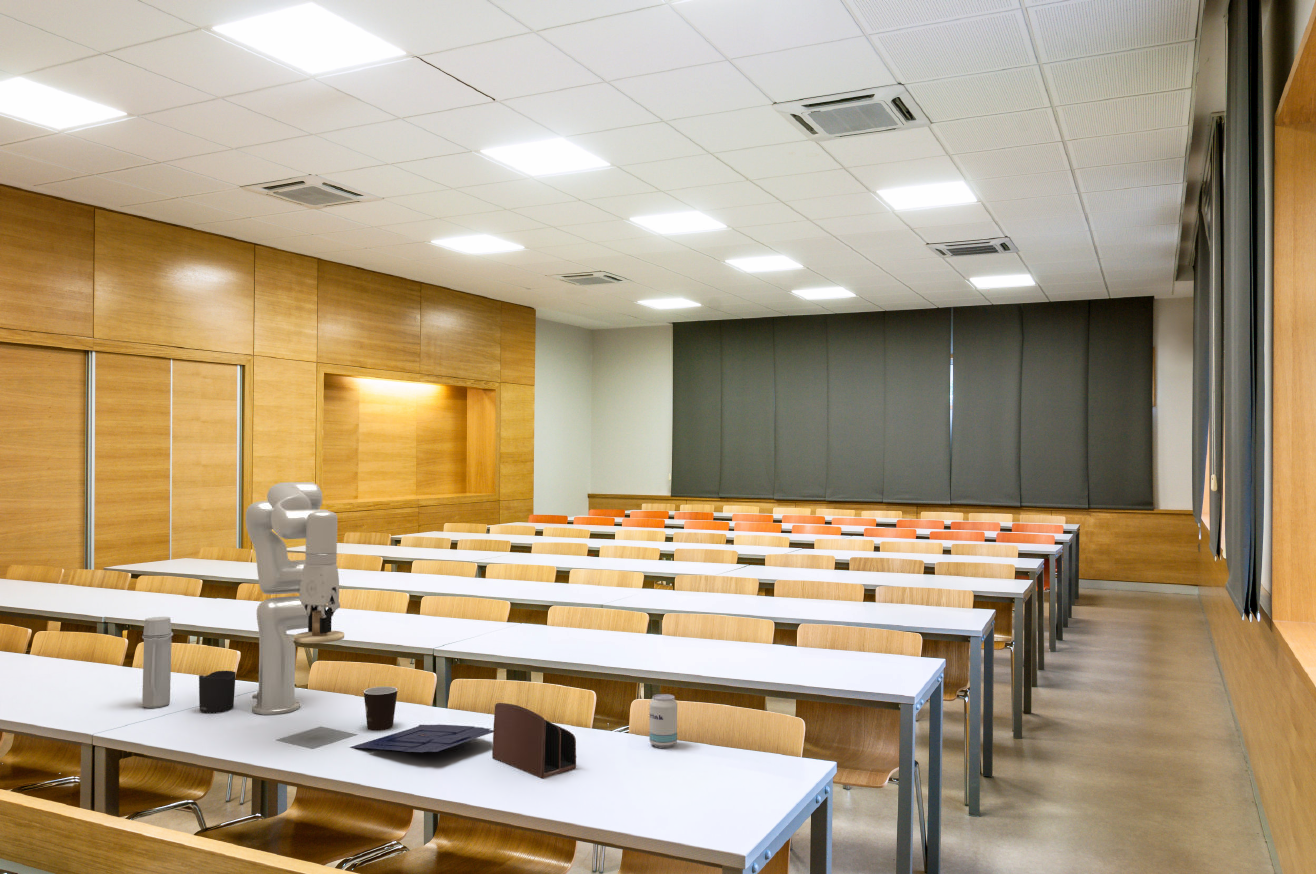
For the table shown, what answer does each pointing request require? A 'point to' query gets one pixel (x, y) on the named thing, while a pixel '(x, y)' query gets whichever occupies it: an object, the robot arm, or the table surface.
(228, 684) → the pen holder
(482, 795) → the table surface
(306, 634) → the lid
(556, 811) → the table surface
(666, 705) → the beverage can
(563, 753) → the letter holder
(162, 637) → the water bottle
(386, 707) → the coffee mug
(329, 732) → the mat
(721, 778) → the table surface
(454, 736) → the dark blue tray
